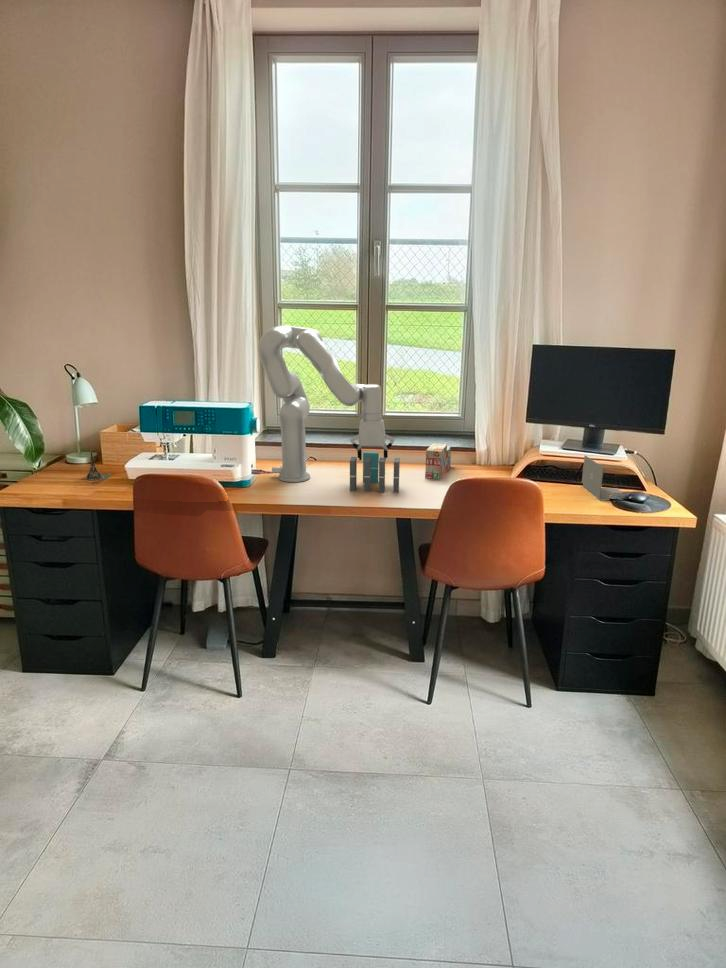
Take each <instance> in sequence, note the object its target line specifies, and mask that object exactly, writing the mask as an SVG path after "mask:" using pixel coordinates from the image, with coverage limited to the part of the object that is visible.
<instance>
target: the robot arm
mask: <svg viewBox="0 0 726 968" xmlns="http://www.w3.org/2000/svg"><path fill="white" fill-rule="evenodd" d="M257 345H258V346H257V348H258V349H257V350H258V351H257V352H258V356H259V359H260V362H261V364H262V368H263V369H264V370H263V371H264V373H265V375H266V377H267V380H268V383H269V385H270V388H271V391H272V394H273V395H274V396H275V397H277V398H278V399H283V402H284V403H283V404H282V406H281V407H280V409H279V413H278V414H279V415H278V418H279V424H280V425H279V426H280V434H281V436H280V438H281V439H280V441H281V464H282V465H281V466H280V467H274V466H273V467H272V468H271V472H272V473H274V474H278V480H280V481H282V482H285V483H286V482H287V483H300V482H305V481H308V480H309V479H310V478H311V474H310V473H309V472H307V455H306V454H307V451H306V450H307V447H306V446H307V445H306V444H307V442H306V427H305V419H306V418H307V417H308V415H309V413H310V411H311V410H310V409H311V406H310V402H309V400H308V397H307V394H306V392H305V389H304V387H303V385H302V381H301V379H300V378H299V376H298V375H297V374H296V373H295V372H293V371H290V370H288V367H287V365H286V360H285V359H284V357H283V355H282V354H281V353H282V352H281V350H282V349H285V348H289V349H297V350H299V351H300V352H301V354H303V356H304V357H305V358H306V359H307V361H309V363H310V364H311V365H312V366H313V367H314V368H315V370H316V371H317V372H318V373H319V375H320V377H321V379H322V380H323V382H324V384H325V385H326V386H327V388H328V389H329V390H330V393H331V394H333V395H334V397H335V398H336V399H337V401H339V402H340V403H341V404H342V405H344V406H345V407H353V406H355V405H356V404H358V403H359V402H361V413H358V415H357V416H358V417H357V418H361V420H360V421H359V427H358V434H357V435H355V436H353V437H351V438H350V439H349V441H350V443H351V445H352V447H354V449H355V450H356V451H357V459H359V461H362V460H363V450H362V447H366V448H367V447H369V448H370V447H371V448H372V447H382V449H383V458H385V461H386V460H387V459H388V458H389V457H388V455H389V454H388V450H389V449H390V448H391V447H393V444H394V442H395V440H396V439H395V438H394V437H392V436H390V435H388V434H386V429H385V428H386V427H385V421H384V419H382V387H381V385H379V384H377V383H367V384H362V383H350V382H349V381H348V379H347V378H346V377H345V376H344V374H343V373H342V371H341V370H340V367H339V362H338V359H337V358H336V356H335V355H334V354H333V353H332V352H331V350H330V349H329V348H328V347H327V346H326V345H325V344H324V342H323V336H322V334H321V333H320V331H318V330H317V329H316V328H315V329H314V328H310V327H301V326H293V325H284V324H283V325H277V326H276V325H275V326H273V327H270V328H268V329H267V330H266V331H265V332H264V333H263V334H262V336H261V337H260V339H259V341H258V344H257ZM356 440H358V444H357V442H356ZM386 440H388V441H389V443H388V444H386Z"/></svg>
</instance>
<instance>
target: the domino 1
mask: <svg viewBox="0 0 726 968" xmlns="http://www.w3.org/2000/svg"><path fill="white" fill-rule="evenodd" d="M357 460H358V456H351V457H350V460H349V492H354V493H355V492H356V490H357V484H358V483H357V480H358V479H357V478H358V477H357V476H358V475H357V474H358V473H357V465H358V464H357V462H358V461H357Z"/></svg>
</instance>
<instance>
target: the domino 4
mask: <svg viewBox="0 0 726 968" xmlns="http://www.w3.org/2000/svg"><path fill="white" fill-rule="evenodd" d="M393 459H394V460H393V487H392V488H393V489H392V490H393V491H392V492H393V494H399V493H400V470H401V469H400V468H401V467H400V466H401V465H400V462H401V461H400V457H394V458H393Z"/></svg>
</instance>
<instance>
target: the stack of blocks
mask: <svg viewBox="0 0 726 968" xmlns="http://www.w3.org/2000/svg"><path fill="white" fill-rule="evenodd" d="M451 449H452V446H451V445H448V443H438V442H437V443H436V442H435V443H434V442H433V443H432V444H431V445H430V446H429V447H428V448H427V449H426V450H425V471H424V475H425V476H424V478H425V480H434V481H440V480H441V479H443V477H444V476H445V475H444V474H446V473H447V472H448V471H449V469H450V468H451V459H452V458H451V457H452V456H451V455H452V453H451V452H452V451H451Z"/></svg>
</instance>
